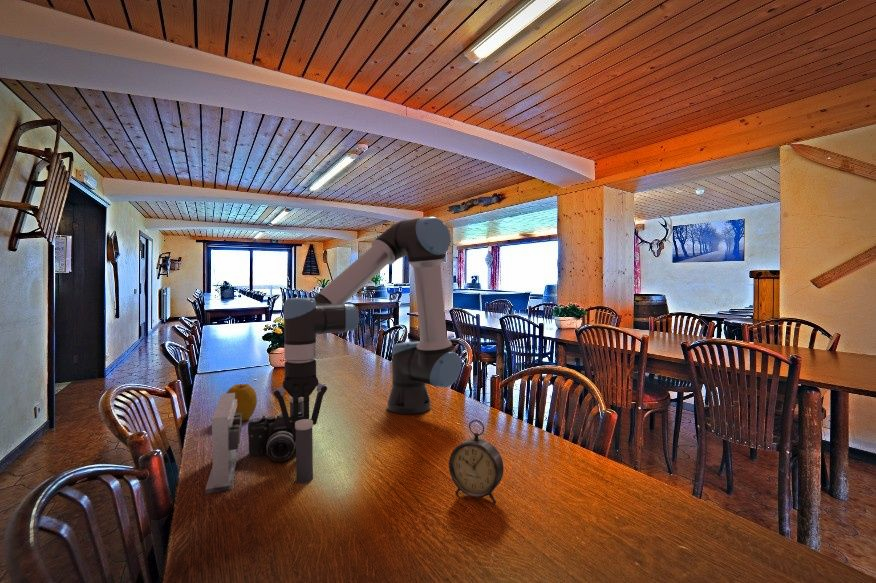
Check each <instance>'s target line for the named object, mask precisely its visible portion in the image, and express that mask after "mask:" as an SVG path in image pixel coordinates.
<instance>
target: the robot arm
mask: <svg viewBox="0 0 876 583" xmlns="http://www.w3.org/2000/svg"><path fill="white" fill-rule="evenodd" d="M450 233H451V232H450V230H449V227H448V225H447V224H446V223H444V221H443V220H441V218H439V217H435V216H424V217H418V218H412V219H405V220H400V221H398V222H396V223H394V224H393V225H391V226H390V227H389V228H388V229H385V231H383V232H382V233H381V234H380V235H379V236H378V237H376V238H375V239H374V240H373V241H372V242H371V247H369V248H368V250H366V251H365V252H364V253H362V255H361V256H359V257H358V258H357V259H356V260H355V261H353V262H352V263H351V264H350V265H349V266H347V268H345V269H344V270H343V271H342V272H340V273H339V275H337V276H336V277H335V278H334V279H333V280H331V281H330V282H329V283H328V284H327V285H326V286H325V287H323V289H321V290H320V291H319V292H318V293H316V294H315V295H314V296H313V297H291V298H287V299H286V300H285V301H284V305H283V317H282V318H283V327H284V328H283V329H284V330H283V332H284V336H283V337H284V343H283V344H284V346H283V348H284V350H283V352H284V353H283V354H284V360H286V361H285V362H284V379H283V380H282V385H281V386H279V387H278V388H275V389H273V395H274V396H275V398H276V399H277V401H278V403H279V408H280V411H281V414H282V415H283V419H284V422H285V426H286V428H292V429H293V440H294V442H296V429H295V422H296V421H298V398H300V397H303V409H304V419H311V420H313V426H315V425H316V424H317V423H318V418H319V414H320V411H321V406H322V402H323V398H324V395H325V394H326V392H327V391H328V386H327V385H326V384H325V383H324V384H323V383H321V382H319V378H318V377H317V360H316V359H315V358H317V335H322V334H323V335H324V334H335V333H336V334H337V333H347V332H351V331H355V330H356V328H358V325H359V323H360V322H359V321H360V313H359V310H358V308H357V307H356V305H354V304H353V303H347V302H348V301H349V300H350V299H352V297H353V296H355V295H356V294H357V293H358V292H359V291H360V290H361V289H363V287H364V286H365V285H366V284H367V283H368V282H370V281H371V280H372V279H373V278H374V277H375V276H376V275H377V274H378V273H380V272H381V270H382V271H383V268H385V267H386V266H387V265H393V264H394V263H395V262H396V261H397V260H399V259H401V258H404V257H405V258H406V257H407V262H408V264H409V265H411V267H412V268H413V276H414V277H413V278H414V286H415V296H416V308H417V318H418V329H419V338H420V340H419V341H418V340H417V341H407V342H406V341H405V342H399V343H395V344H393V346H392V351H391V353H392V354H391V366H392V367H391V372H392V374H391V375H392V376H391V378H392V379H391V380H392V384H391V385H392V386H391V389H390V393H389V396H388V399H387V405H386V406H387V407H386V408H387V410H388V411H389V412H392V413H395V414H398V415H400V414H401V415H416V414H422V413H425V412H427V411H429V410H431V408H432V407H431V406H432V404H431V398H430V394H429V391H428V389H427V385H430V386H431V387H439V388H448V387H450V386H452V385H453V384H454V383H455V382H456V380H457V379H458V378H459V376H460V373H461V369H462V360H461V357H460V356H459V354H458V353H456V352H455V351H453V343H452V341H450V339H449V338H448V337H447V325H446V312H445V302H444V291H443V290H444V288H443V281H442V279H443V278H442V267H441V265H442V263H443V262H444V261H445V254H446V252H447V251H448V250H449V247H451V239H452V238H451V234H450ZM315 389H316V392H317V393H316V398H315V401H314V405H313V409H312V413H311V418H310V396H311V395H312V393H313V392H314V391H315ZM285 392H287V393H288V395H289V397H290V396H291V397H293V422H292V421H290V419H289V417H290V414H289V411H288V407H287V405H286V401H285V398H284V395H285Z"/></svg>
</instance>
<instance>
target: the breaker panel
mask: <svg viewBox="0 0 876 583" xmlns="http://www.w3.org/2000/svg"><path fill="white" fill-rule="evenodd" d="M236 408H237V399H235V393H227V392H226V393H221V394H220V398H219V401H218V403H217V404H216V407H215V410H214V412H213V414H212V417H211V436H212V441H211V442H212V444H211V445H212V467H211V470H210V473H209V475H208V479H207V483H206V485H205V490H204V492H205V493H204V494H205V495H208V494H213V493H219V492H225V491H231V490H232V489H233V483H234V478H235V473H236V467H237V461H238V457H239V445H240V443H241V433H242V430H243V429H242V427H243V425H242V422H243V421H242V418H241V413H235V412H236Z"/></svg>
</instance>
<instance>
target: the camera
mask: <svg viewBox="0 0 876 583" xmlns="http://www.w3.org/2000/svg"><path fill="white" fill-rule="evenodd" d="M289 419H290V421H292V422H293V417H290V416H289ZM302 419H304V413H301V412H298V420H302ZM247 435H248V436H247V437H248V438H247V439H248V456H249V457H250V458H252V457H259V456H268V457H269V459H271V460H272V461H274V462H284V461H286V460H288V459H289V458H291V457H292V456H293V454H294V452H295V453H296V442H294V440H293V429H292V428H286V426H285V422H284V419H283V415H282V413H280V412H278V413H277V416H276V417H275V416H272V415H271V416H270V415H269V416H268V417H266V414H262V415H261V417H260V418H258V417H257V418H251V419H249V422H248V424H247Z"/></svg>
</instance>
